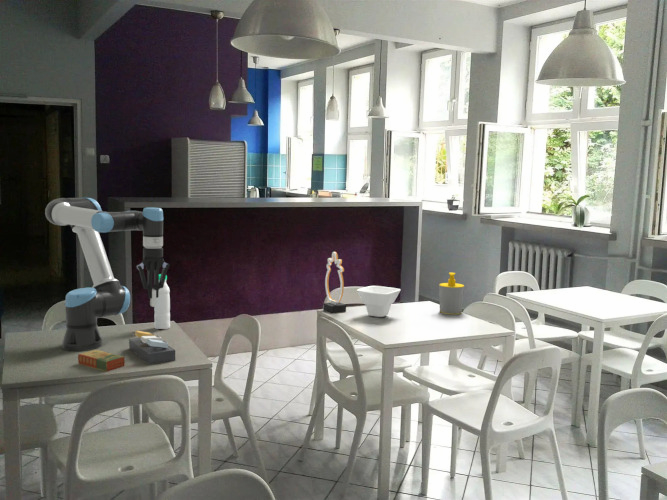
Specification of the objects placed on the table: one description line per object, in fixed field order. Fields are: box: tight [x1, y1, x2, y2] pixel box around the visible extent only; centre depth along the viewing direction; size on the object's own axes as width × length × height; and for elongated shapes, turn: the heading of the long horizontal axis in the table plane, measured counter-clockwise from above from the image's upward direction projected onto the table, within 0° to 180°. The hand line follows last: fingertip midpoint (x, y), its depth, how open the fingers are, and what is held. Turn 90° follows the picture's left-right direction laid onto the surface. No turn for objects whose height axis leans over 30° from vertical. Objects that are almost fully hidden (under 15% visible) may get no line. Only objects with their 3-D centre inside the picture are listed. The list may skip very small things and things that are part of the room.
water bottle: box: [153, 273, 171, 330], centre depth 283 cm, size 7×7×25 cm
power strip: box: [128, 337, 176, 365], centre depth 245 cm, size 10×33×5 cm, turn 35°
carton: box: [77, 349, 126, 372], centre depth 227 cm, size 8×16×4 cm, turn 59°
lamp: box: [322, 251, 347, 314], centre depth 325 cm, size 17×9×32 cm, turn 31°
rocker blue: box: [147, 339, 170, 348], centre depth 235 cm, size 7×4×2 cm, turn 125°
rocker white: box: [140, 334, 163, 343], centre depth 241 cm, size 7×4×2 cm, turn 125°
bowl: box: [356, 285, 401, 318], centre depth 315 cm, size 19×19×14 cm
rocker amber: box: [134, 330, 157, 338], centre depth 248 cm, size 7×4×2 cm, turn 125°
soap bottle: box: [438, 272, 465, 315], centre depth 328 cm, size 13×13×21 cm
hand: (153, 305), depth 244 cm, fingers closed
